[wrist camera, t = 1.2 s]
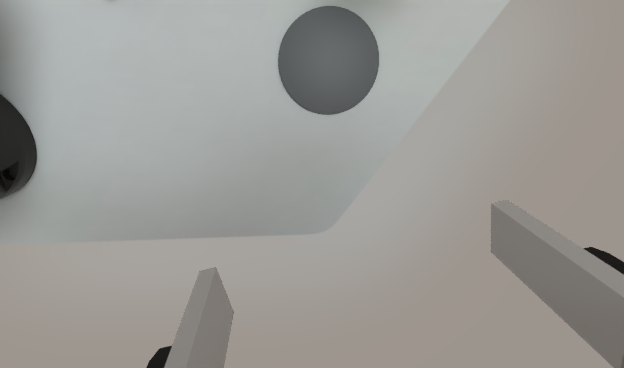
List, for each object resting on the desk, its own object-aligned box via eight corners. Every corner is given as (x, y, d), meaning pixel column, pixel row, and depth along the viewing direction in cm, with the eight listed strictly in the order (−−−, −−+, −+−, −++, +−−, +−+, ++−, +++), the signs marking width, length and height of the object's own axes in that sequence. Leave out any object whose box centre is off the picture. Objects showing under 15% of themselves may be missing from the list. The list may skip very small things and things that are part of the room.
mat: (290, 122, 41) (290, 123, 41) (267, 18, 37) (267, 18, 36) (383, 102, 41) (384, 103, 41) (371, -4, 37) (372, -4, 36)
